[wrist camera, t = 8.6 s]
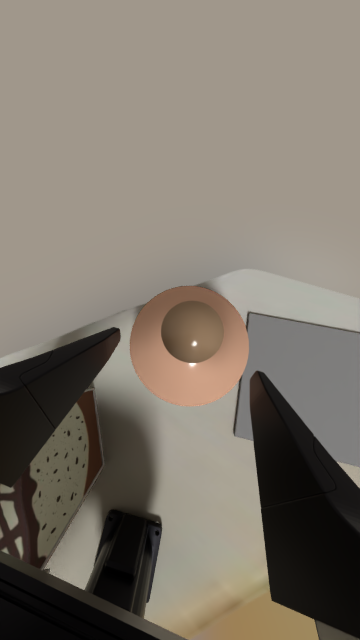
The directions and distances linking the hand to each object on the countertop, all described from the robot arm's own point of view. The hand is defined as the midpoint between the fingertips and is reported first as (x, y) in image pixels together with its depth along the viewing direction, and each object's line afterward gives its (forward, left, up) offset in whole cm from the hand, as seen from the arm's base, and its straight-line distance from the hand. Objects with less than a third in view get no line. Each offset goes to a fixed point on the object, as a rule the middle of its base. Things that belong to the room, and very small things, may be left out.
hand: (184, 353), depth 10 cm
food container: (-13, +12, -12) cm, 21 cm away
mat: (-1, -16, -12) cm, 20 cm away
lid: (+1, 0, -8) cm, 8 cm away
